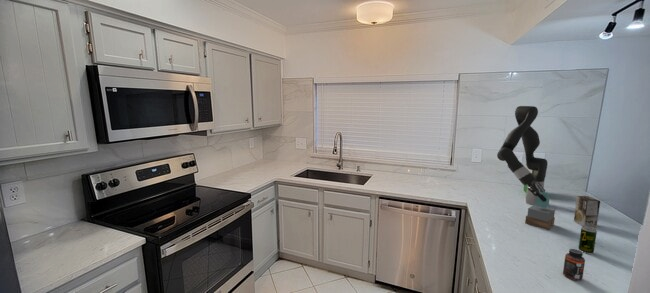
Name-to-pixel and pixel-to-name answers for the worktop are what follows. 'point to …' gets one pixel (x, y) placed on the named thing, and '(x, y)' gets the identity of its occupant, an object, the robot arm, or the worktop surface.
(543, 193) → the teal block
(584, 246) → the beer can
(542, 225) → the tower bottom
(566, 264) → the supplement bottle
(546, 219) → the tower top
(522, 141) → the robot arm
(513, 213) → the worktop surface
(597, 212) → the coffee box
